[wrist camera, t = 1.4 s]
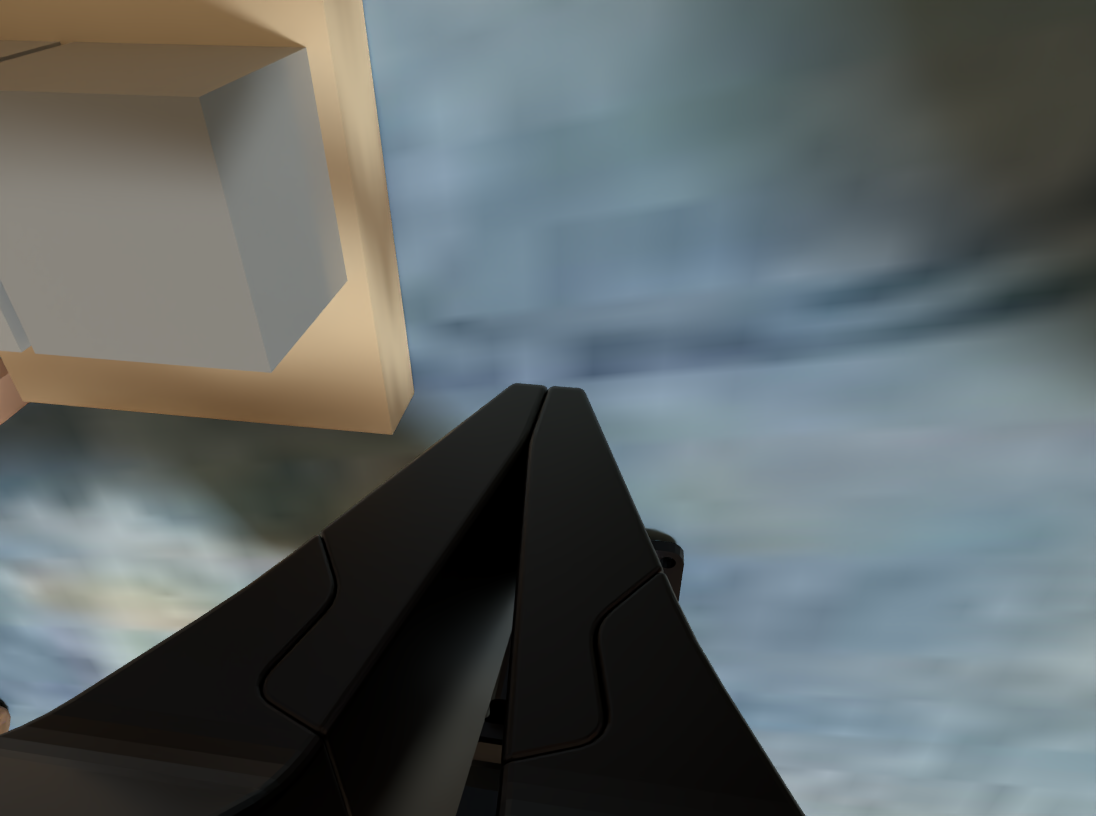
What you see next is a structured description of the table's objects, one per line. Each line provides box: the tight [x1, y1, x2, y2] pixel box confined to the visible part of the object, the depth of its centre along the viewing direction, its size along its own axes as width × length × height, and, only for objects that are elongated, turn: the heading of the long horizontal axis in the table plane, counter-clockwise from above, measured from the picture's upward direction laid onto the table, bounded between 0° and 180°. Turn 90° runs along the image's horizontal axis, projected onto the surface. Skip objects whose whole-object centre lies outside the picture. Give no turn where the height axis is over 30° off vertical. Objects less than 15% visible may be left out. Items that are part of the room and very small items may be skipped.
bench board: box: [0, 0, 414, 435], centre depth 17 cm, size 14×11×2 cm
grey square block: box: [0, 42, 348, 373], centre depth 15 cm, size 5×5×4 cm
